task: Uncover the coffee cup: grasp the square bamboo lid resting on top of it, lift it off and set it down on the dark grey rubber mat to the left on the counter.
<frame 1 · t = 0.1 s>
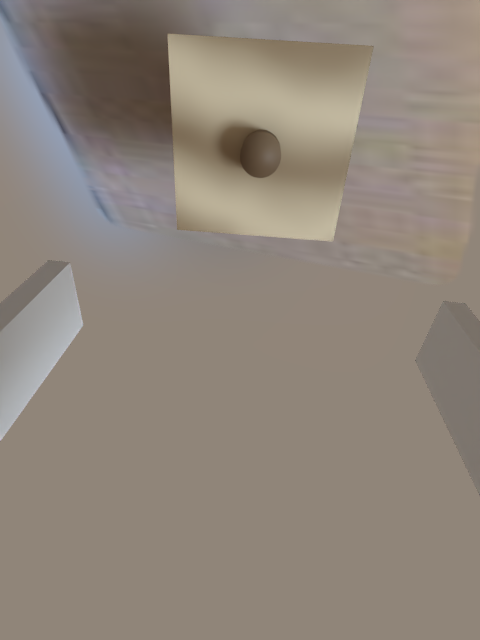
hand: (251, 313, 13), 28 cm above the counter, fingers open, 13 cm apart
bamboo lid: (261, 146, 24), point 13 cm above the counter, touching coffee cup
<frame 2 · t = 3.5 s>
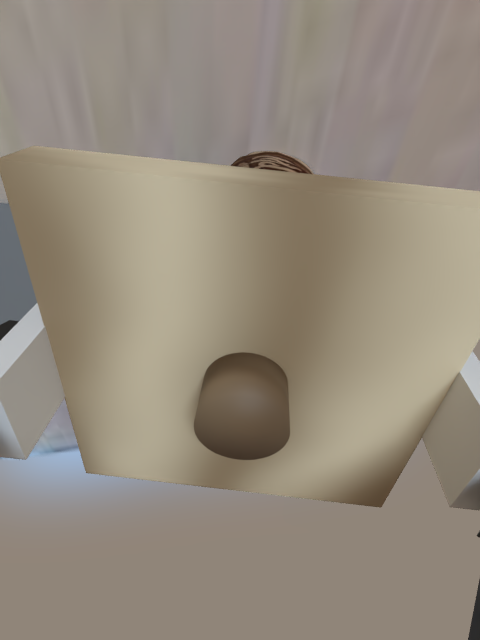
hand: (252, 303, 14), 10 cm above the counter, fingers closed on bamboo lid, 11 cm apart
rubber mat: (21, 308, 28), on the counter
coffee cup: (268, 208, 22), on the counter, touching bamboo lid
bamboo lid: (248, 352, 12), point 13 cm above the counter, touching coffee cup, gripper
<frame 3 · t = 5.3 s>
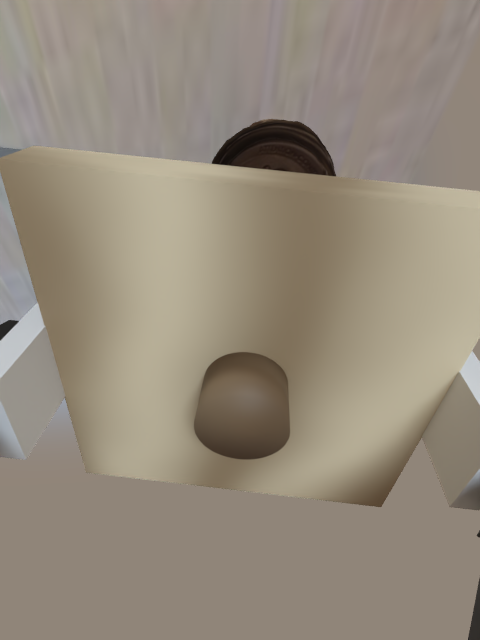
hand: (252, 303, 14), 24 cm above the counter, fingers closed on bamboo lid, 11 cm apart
coffee cup: (271, 159, 33), on the counter
bamboo lid: (248, 352, 12), point 27 cm above the counter, touching gripper
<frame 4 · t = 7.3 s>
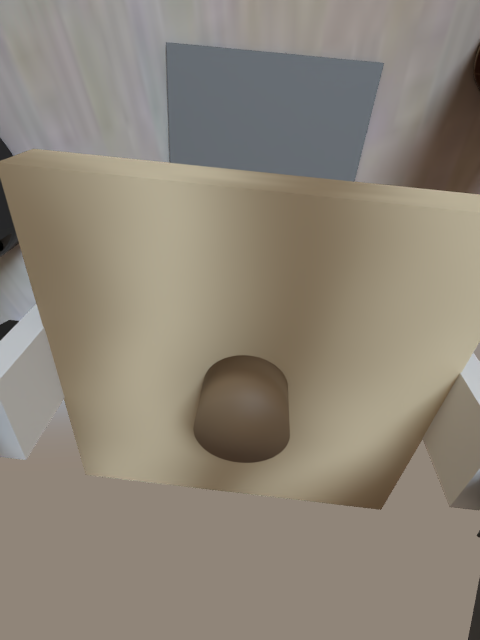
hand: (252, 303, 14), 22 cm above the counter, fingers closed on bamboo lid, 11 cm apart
rubber mat: (262, 166, 32), on the counter
bamboo lid: (248, 355, 12), point 25 cm above the counter, touching gripper
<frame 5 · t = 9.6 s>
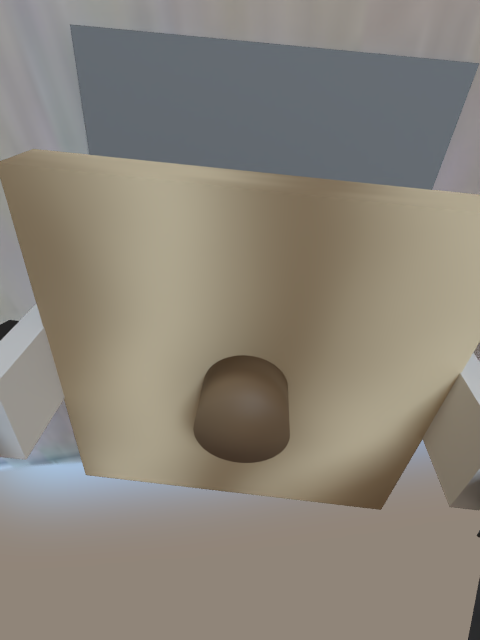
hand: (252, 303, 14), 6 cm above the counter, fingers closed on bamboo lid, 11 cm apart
rubber mat: (253, 234, 19), on the counter
bamboo lid: (248, 355, 12), point 9 cm above the counter, touching gripper
when the fingers open (2 cm above the counter, at t = 11.4 s): bamboo lid drops 4 cm, resting on rubber mat.
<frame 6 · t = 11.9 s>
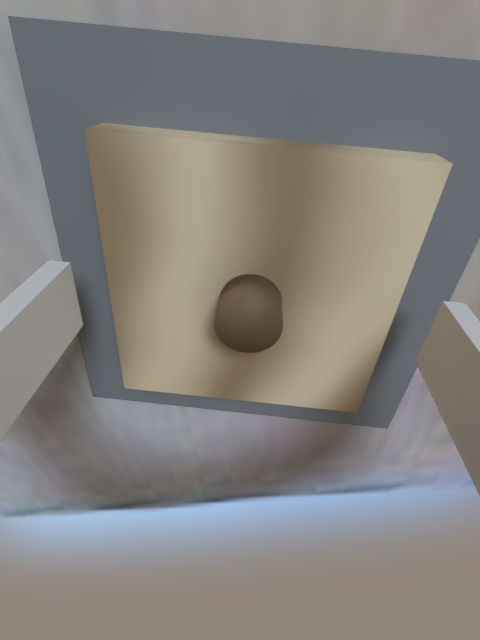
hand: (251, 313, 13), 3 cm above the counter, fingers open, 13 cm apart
rubber mat: (254, 279, 15), on the counter
bamboo lid: (252, 283, 15), resting on rubber mat
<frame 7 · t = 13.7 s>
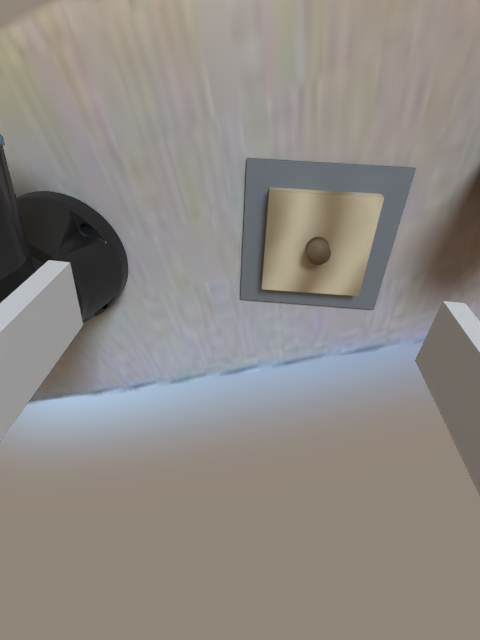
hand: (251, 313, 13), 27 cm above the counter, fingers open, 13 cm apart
rubber mat: (316, 241, 40), on the counter
bamboo lid: (316, 242, 40), resting on rubber mat
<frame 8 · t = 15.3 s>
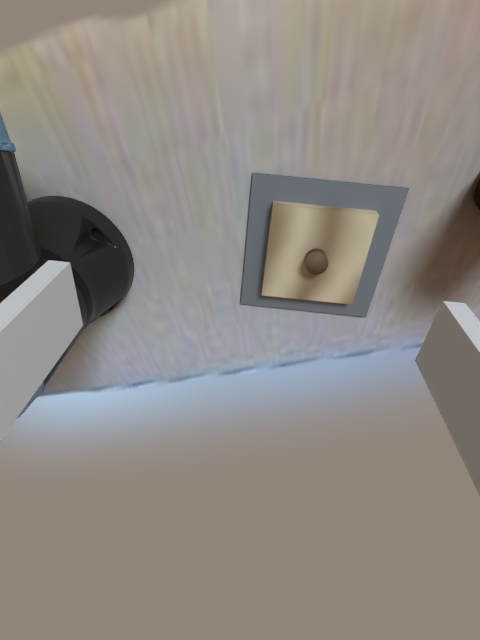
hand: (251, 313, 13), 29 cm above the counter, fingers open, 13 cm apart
rubber mat: (315, 251, 43), on the counter
bamboo lid: (314, 253, 42), resting on rubber mat
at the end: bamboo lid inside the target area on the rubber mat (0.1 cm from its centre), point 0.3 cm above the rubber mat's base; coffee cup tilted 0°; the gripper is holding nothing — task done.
